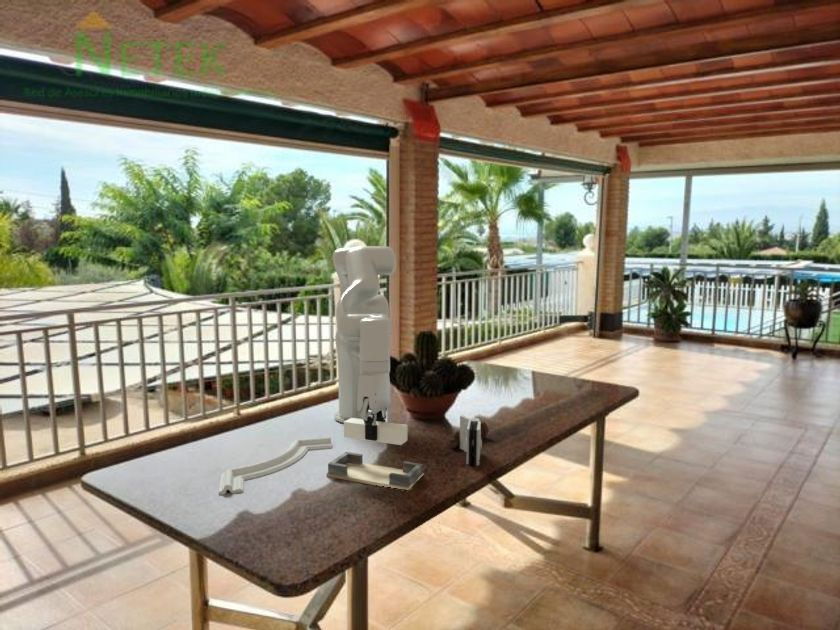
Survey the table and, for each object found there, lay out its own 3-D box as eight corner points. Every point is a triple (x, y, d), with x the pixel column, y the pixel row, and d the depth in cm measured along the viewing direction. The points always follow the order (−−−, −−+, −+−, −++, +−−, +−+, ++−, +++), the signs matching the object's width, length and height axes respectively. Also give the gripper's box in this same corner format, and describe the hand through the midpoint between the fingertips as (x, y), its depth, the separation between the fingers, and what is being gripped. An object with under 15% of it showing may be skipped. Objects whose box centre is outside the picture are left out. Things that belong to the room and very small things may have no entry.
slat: (351, 432, 156) (351, 417, 156) (407, 440, 150) (407, 424, 150) (344, 436, 152) (343, 421, 152) (400, 445, 146) (400, 429, 146)
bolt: (450, 454, 174) (479, 439, 185) (462, 449, 171) (491, 435, 182) (442, 435, 175) (472, 422, 186) (454, 430, 172) (483, 417, 183)
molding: (231, 501, 140) (230, 489, 140) (195, 489, 146) (195, 478, 145) (340, 446, 177) (340, 437, 176) (308, 438, 182) (308, 429, 182)
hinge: (459, 448, 174) (459, 415, 172) (477, 448, 174) (478, 414, 173) (466, 466, 160) (467, 430, 159) (486, 466, 160) (487, 430, 159)
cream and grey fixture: (345, 462, 162) (345, 451, 161) (423, 476, 153) (424, 463, 153) (326, 476, 153) (326, 464, 152) (408, 491, 144) (408, 478, 144)
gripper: (376, 359, 158) (376, 426, 160) (345, 371, 143) (346, 445, 145) (402, 361, 155) (402, 429, 157) (373, 374, 140) (373, 449, 142)
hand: (375, 436), depth 151 cm, fingers closed on slat, 4 cm apart
